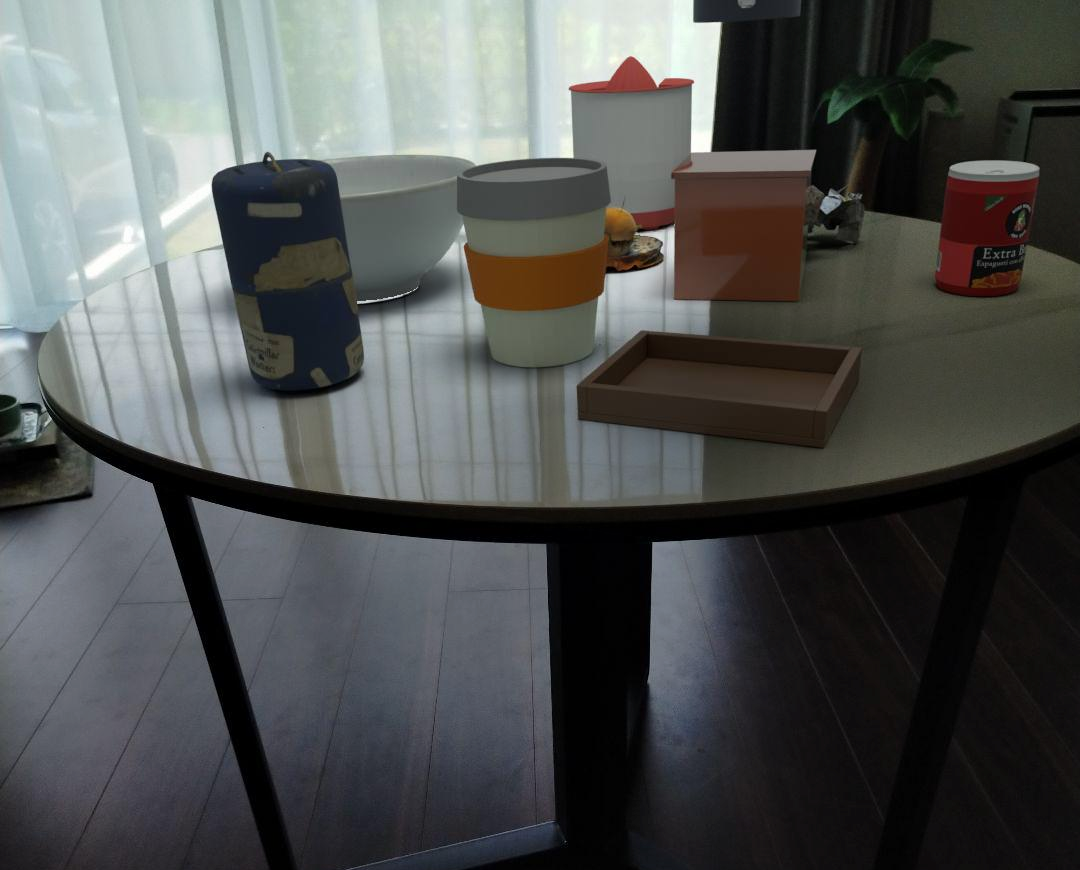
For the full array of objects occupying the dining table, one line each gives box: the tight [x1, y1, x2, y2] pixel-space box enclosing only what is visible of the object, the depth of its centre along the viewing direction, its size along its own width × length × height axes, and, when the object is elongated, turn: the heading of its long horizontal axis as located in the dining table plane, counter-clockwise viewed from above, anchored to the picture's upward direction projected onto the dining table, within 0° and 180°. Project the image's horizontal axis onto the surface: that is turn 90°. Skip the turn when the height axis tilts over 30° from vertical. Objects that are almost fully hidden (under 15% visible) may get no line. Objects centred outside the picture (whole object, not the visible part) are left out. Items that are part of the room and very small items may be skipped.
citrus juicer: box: [568, 55, 695, 231], centre depth 128 cm, size 16×17×20 cm
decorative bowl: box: [318, 154, 477, 301], centre depth 106 cm, size 27×27×12 cm
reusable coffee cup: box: [457, 157, 611, 368], centre depth 83 cm, size 13×12×15 cm
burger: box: [604, 198, 665, 272], centre depth 112 cm, size 12×12×8 cm
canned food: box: [934, 159, 1040, 298], centre depth 94 cm, size 8×8×11 cm
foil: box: [807, 183, 866, 245], centre depth 112 cm, size 12×11×15 cm
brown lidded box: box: [671, 149, 817, 302], centre depth 99 cm, size 13×13×12 cm
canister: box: [211, 151, 365, 392], centre depth 79 cm, size 10×10×18 cm
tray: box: [576, 329, 863, 449], centre depth 73 cm, size 18×14×3 cm
